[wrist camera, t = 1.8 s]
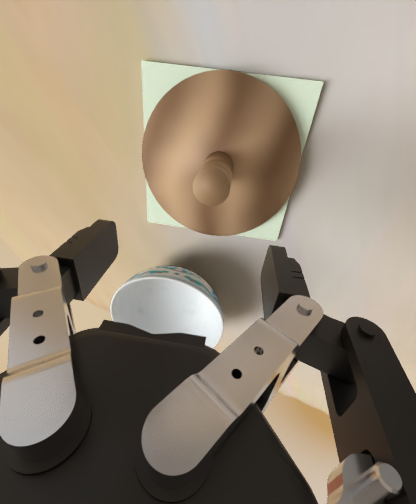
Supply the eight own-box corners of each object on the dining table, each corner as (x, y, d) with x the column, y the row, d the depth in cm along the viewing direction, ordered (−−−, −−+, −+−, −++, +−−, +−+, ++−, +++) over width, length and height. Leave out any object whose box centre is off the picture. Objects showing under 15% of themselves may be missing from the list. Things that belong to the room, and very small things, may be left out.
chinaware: (247, 279, 37) (248, 319, 30) (194, 330, 44) (185, 370, 38) (159, 223, 34) (139, 255, 27) (118, 288, 41) (94, 325, 35)
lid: (323, 81, 23) (355, 78, 16) (276, 241, 32) (284, 280, 25) (141, 60, 24) (100, 48, 17) (147, 221, 33) (122, 255, 26)
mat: (321, 81, 23) (323, 81, 23) (276, 238, 33) (276, 241, 32) (143, 61, 24) (141, 60, 24) (149, 219, 33) (147, 221, 33)
